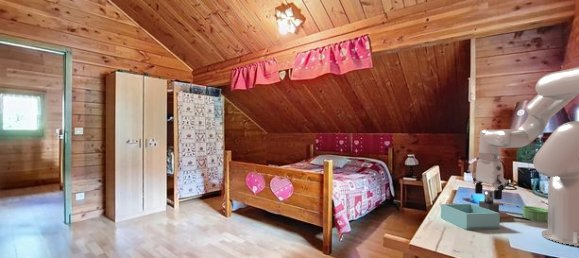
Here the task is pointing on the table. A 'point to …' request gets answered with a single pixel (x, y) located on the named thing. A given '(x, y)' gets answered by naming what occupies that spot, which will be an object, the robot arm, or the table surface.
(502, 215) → the stud plate
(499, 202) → the adjustable wrench
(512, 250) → the table surface
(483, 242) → the table surface
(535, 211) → the ramekin
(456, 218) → the bin
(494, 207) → the square base knob
